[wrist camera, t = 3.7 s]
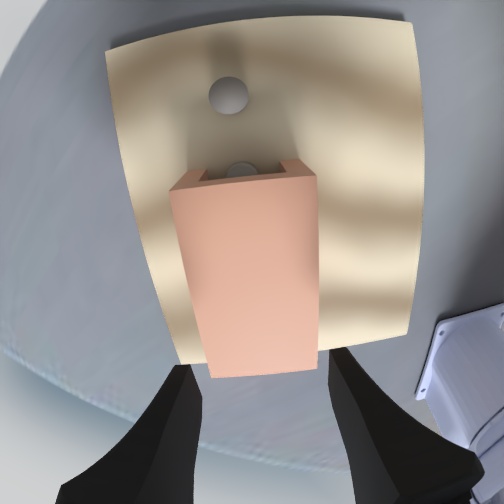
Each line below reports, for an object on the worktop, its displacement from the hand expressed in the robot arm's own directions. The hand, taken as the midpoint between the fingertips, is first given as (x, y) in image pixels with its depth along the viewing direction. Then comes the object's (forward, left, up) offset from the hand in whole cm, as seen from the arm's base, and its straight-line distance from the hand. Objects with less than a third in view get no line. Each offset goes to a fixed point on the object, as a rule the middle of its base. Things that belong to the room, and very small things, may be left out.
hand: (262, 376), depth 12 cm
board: (+4, -2, -8) cm, 9 cm away
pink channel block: (+2, 0, -7) cm, 7 cm away
